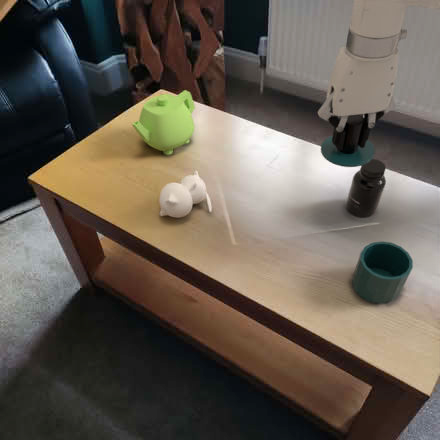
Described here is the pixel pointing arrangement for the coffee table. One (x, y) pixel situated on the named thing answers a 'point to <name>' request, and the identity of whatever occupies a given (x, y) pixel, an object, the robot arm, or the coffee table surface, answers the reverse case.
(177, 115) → the teapot
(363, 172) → the supplement bottle
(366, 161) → the lid
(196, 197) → the cat figurine
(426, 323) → the coffee table surface
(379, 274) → the tin
